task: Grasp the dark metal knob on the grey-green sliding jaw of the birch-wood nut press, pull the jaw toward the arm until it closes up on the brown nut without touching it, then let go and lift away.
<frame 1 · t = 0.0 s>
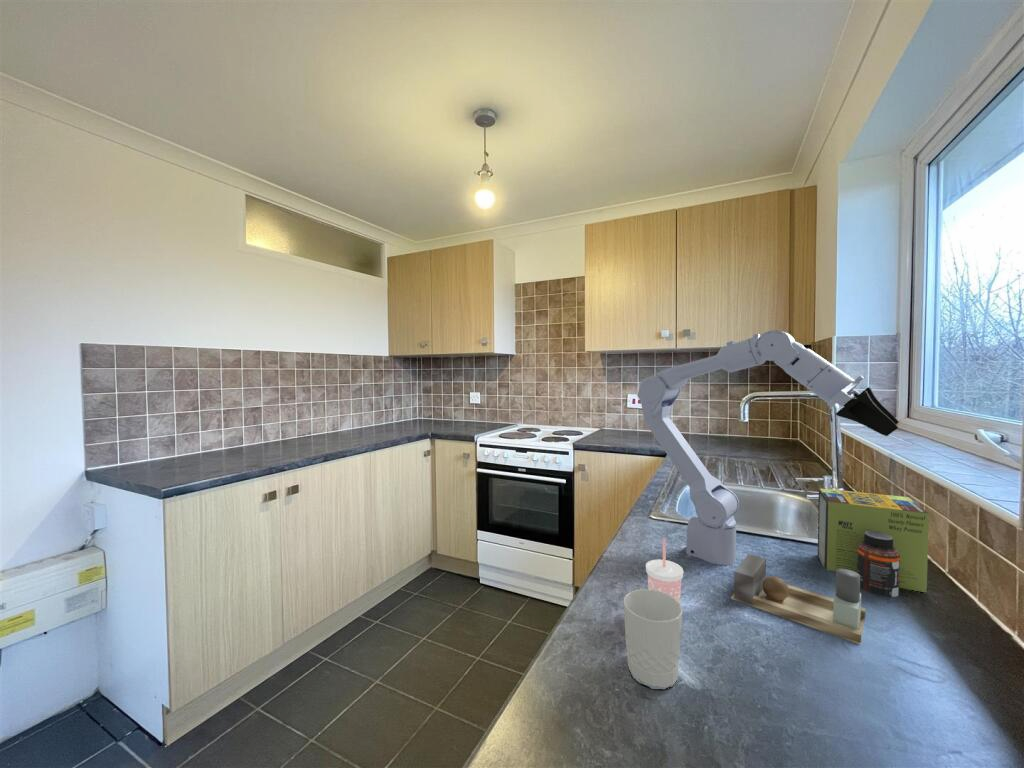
hand: (893, 429, 69), 32 cm above the countertop, tool tilted 50°, fingers open, 7 cm apart
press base: (795, 612, 71), on the countertop
protein box: (866, 573, 84), on the countertop
supplement bottle: (877, 595, 76), on the countertop
white cup: (652, 673, 58), on the countertop
beverage cup: (664, 619, 70), on the countertop
nut: (775, 599, 73), point 1 cm above the countertop, touching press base
sliding jaw: (847, 597, 66), point 5 cm above the countertop, slide at 0.0 cm
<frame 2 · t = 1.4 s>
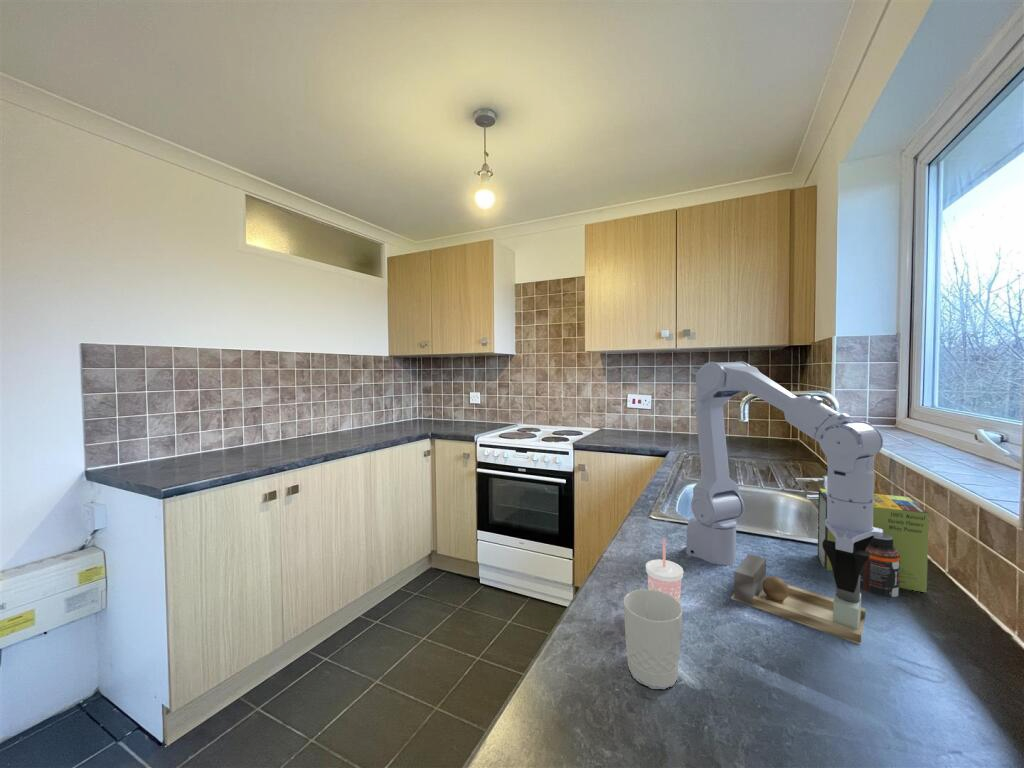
hand: (848, 580, 66), 8 cm above the countertop, tool pointing down, fingers open, 7 cm apart
nothing on the countertop moved.
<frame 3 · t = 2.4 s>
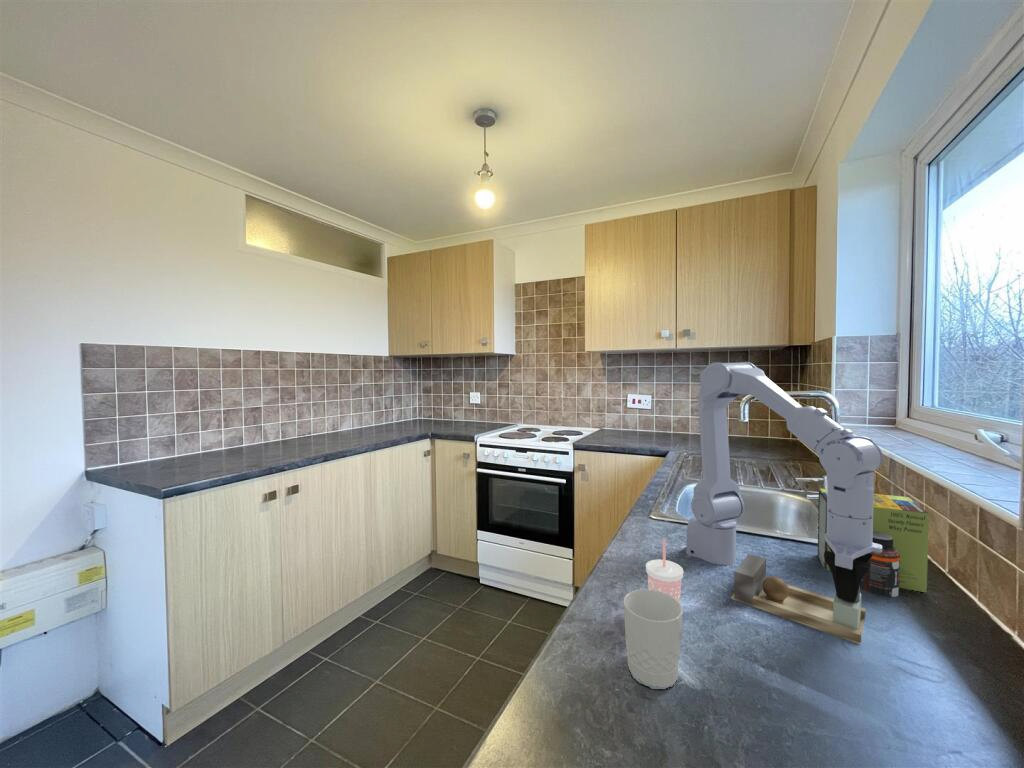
hand: (847, 595, 66), 6 cm above the countertop, tool pointing down, fingers closed on sliding jaw, 3 cm apart
sliding jaw: (847, 597, 66), point 5 cm above the countertop, slide at 0.0 cm, touching gripper
everything else where it was.
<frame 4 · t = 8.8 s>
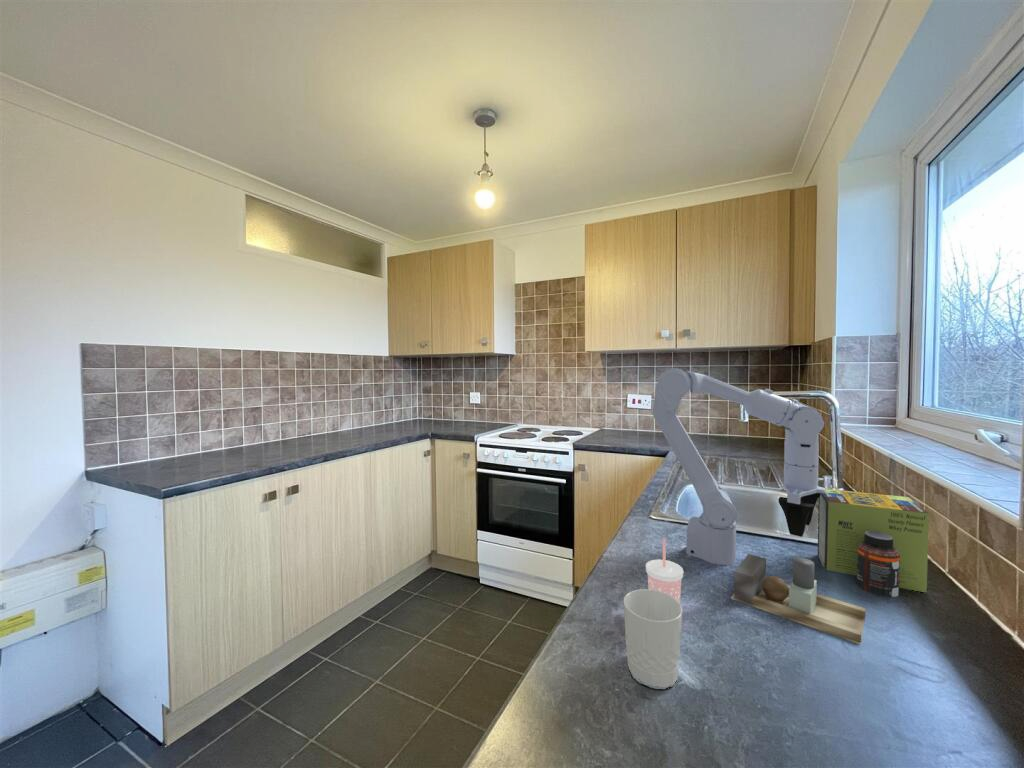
hand: (799, 529, 84), 9 cm above the countertop, tool pointing down, fingers open, 7 cm apart
sliding jaw: (803, 584, 70), point 5 cm above the countertop, slide at 5.9 cm
everything else where it was.
at the end: sliding jaw slide at 5.9 cm; nut moved 0.1 cm from its start; the gripper is holding nothing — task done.
